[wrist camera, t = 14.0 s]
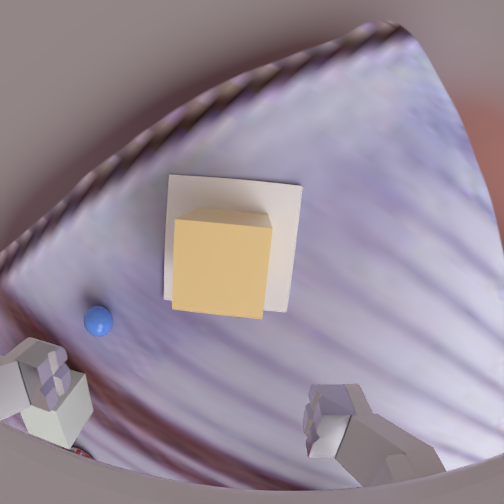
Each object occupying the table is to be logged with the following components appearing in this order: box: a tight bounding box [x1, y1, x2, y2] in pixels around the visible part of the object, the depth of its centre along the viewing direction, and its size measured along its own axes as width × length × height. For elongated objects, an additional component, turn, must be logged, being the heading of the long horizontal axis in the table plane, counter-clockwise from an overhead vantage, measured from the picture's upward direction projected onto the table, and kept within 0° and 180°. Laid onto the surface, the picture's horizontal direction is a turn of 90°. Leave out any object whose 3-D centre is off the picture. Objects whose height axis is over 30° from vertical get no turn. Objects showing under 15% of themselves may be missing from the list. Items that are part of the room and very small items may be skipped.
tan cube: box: [172, 208, 273, 319], centre depth 25 cm, size 6×6×8 cm
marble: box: [84, 306, 113, 336], centre depth 30 cm, size 3×3×3 cm
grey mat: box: [164, 174, 303, 312], centre depth 29 cm, size 12×12×1 cm
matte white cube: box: [20, 370, 93, 449], centre depth 30 cm, size 6×6×8 cm
